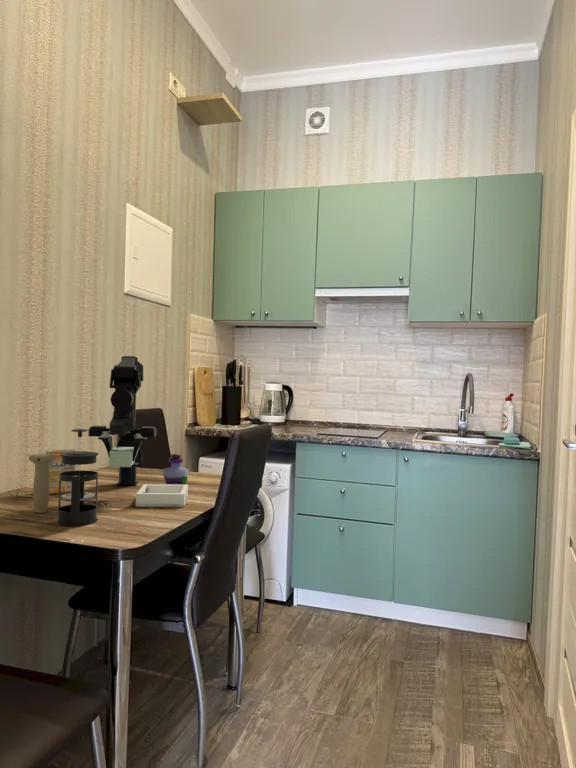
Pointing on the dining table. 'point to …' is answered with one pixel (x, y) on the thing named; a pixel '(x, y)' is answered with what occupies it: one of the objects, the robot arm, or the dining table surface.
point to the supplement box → (56, 469)
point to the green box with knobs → (121, 457)
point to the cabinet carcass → (162, 495)
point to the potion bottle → (175, 471)
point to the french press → (78, 488)
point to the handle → (41, 481)
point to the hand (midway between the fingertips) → (122, 460)
